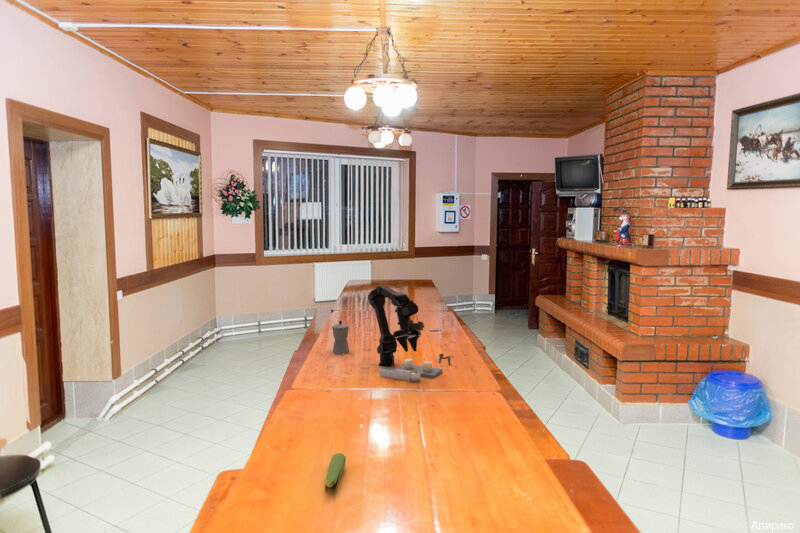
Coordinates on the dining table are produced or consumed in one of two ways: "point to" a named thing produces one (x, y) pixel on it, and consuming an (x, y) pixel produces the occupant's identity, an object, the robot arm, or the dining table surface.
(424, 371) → the tool rack
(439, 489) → the dining table surface
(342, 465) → the edible corn
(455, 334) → the dining table surface
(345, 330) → the coffeepot
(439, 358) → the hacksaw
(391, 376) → the spanner
